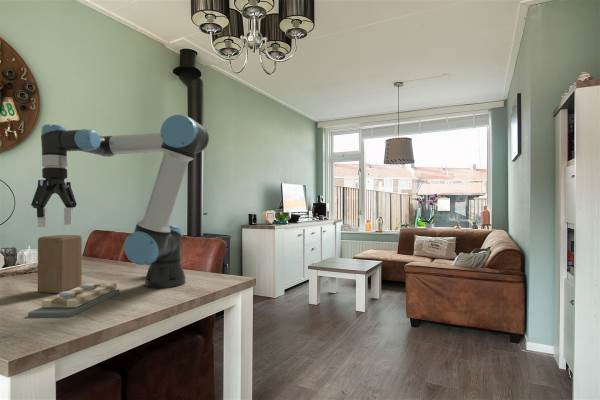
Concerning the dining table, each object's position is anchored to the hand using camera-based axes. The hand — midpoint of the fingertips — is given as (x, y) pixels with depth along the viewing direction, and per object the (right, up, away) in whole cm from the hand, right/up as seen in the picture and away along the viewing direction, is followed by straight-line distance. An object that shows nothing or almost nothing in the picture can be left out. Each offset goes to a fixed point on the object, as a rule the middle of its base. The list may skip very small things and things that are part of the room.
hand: (56, 225), depth 127 cm
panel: (+19, -22, -14) cm, 32 cm away
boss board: (+19, -24, -16) cm, 34 cm away
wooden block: (+1, -24, +1) cm, 24 cm away
